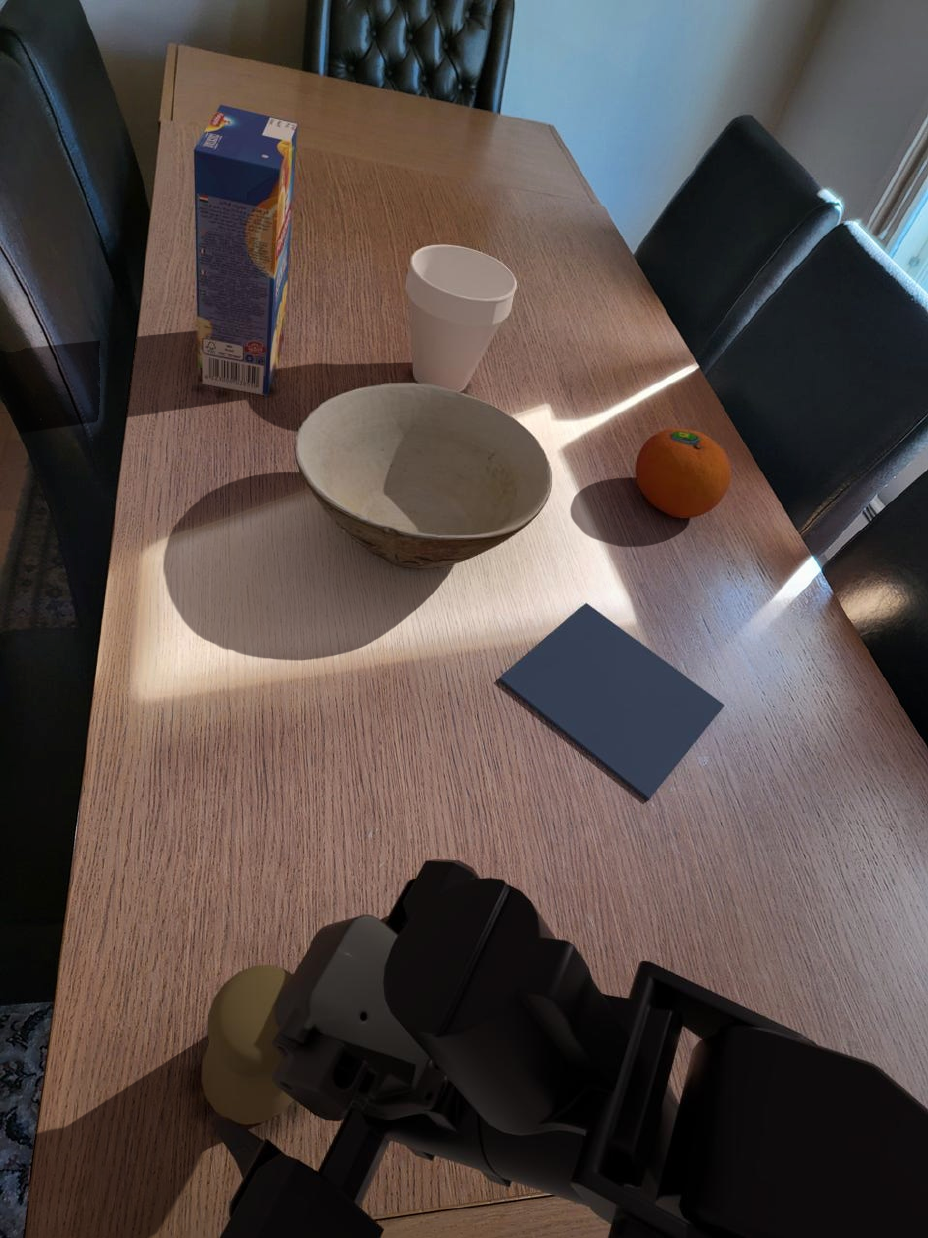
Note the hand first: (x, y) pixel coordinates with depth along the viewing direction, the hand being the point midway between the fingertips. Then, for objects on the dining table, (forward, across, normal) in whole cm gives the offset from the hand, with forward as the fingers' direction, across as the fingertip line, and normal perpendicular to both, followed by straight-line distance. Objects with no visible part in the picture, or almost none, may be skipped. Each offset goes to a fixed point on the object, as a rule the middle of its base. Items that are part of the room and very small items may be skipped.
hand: (272, 1032), depth 43 cm
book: (-1, -40, +13) cm, 42 cm away
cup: (+23, -74, -11) cm, 78 cm away
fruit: (+1, -70, +11) cm, 71 cm away
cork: (+6, 0, +6) cm, 9 cm away
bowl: (+17, -47, -4) cm, 50 cm away
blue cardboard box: (+37, -60, -24) cm, 74 cm away
